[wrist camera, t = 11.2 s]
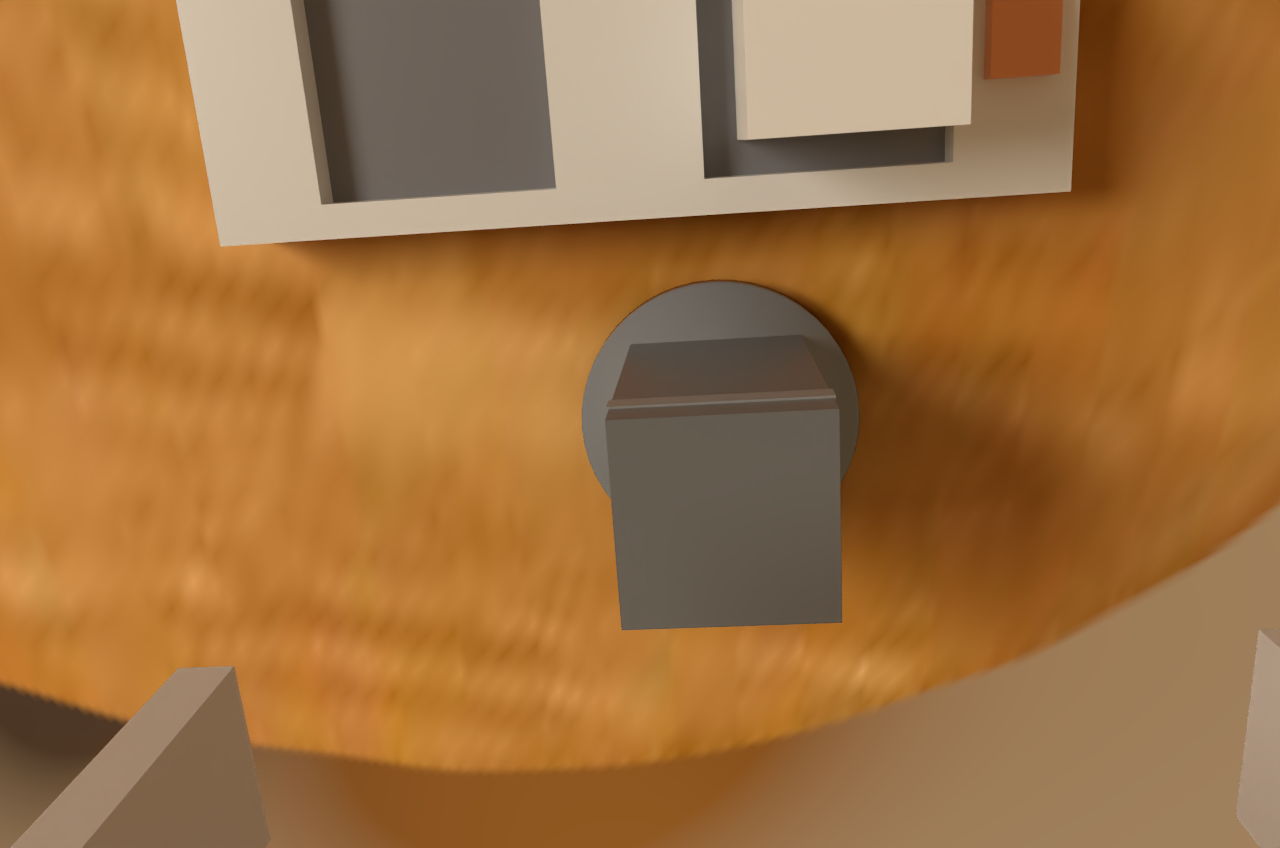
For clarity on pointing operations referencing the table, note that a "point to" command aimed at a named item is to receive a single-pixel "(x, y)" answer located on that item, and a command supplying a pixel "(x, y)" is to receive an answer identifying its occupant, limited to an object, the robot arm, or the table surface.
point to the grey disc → (711, 317)
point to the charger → (725, 485)
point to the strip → (572, 117)
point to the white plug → (850, 65)
